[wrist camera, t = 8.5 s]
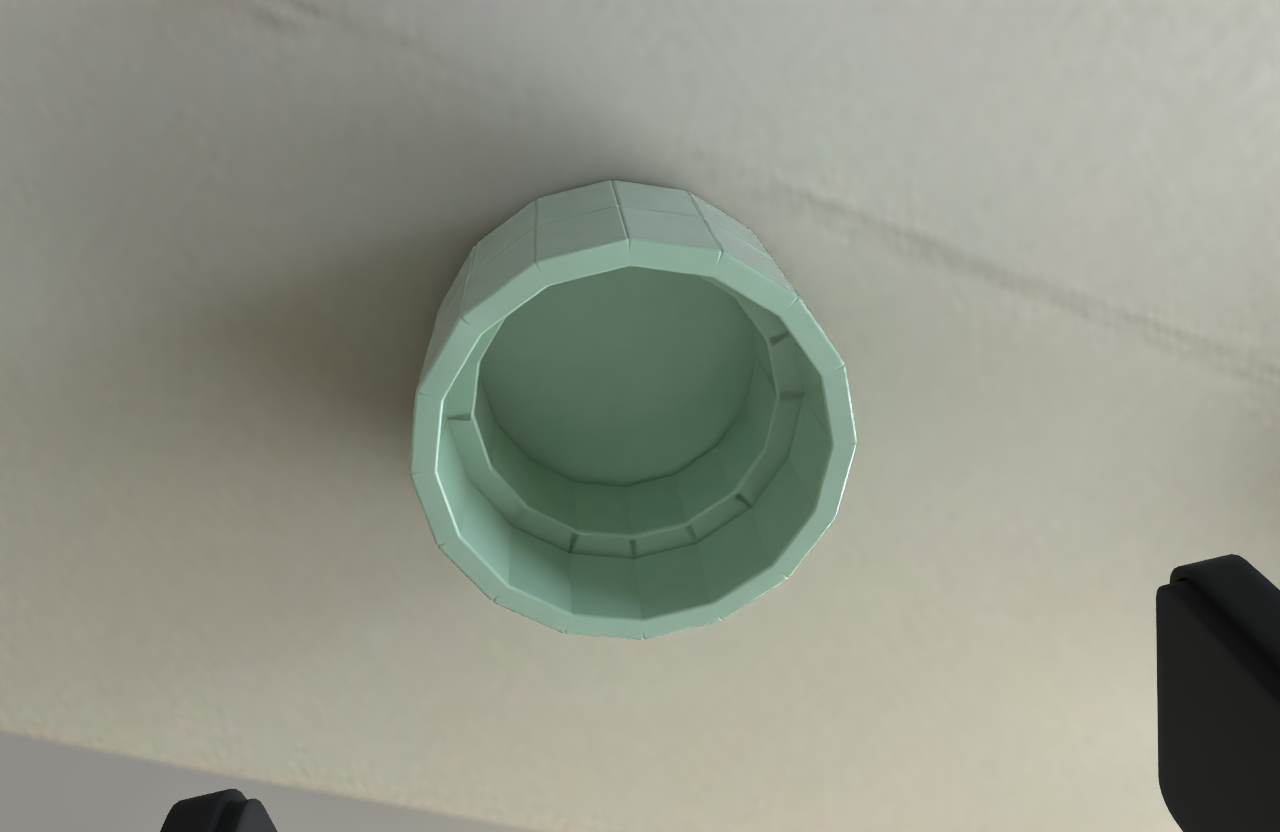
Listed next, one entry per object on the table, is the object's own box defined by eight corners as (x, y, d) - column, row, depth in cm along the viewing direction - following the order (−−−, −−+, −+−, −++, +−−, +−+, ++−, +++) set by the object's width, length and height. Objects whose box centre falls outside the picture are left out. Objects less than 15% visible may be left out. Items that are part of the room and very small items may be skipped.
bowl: (496, 543, 23) (486, 679, 18) (387, 229, 19) (345, 308, 15) (817, 464, 22) (880, 583, 18) (759, 135, 19) (818, 189, 15)
